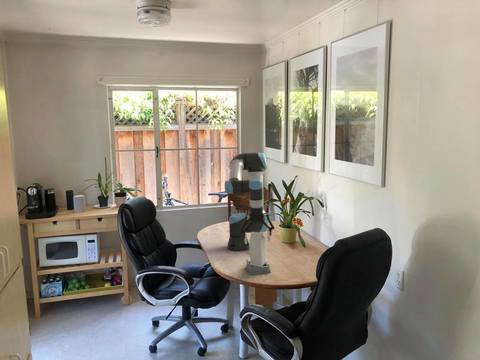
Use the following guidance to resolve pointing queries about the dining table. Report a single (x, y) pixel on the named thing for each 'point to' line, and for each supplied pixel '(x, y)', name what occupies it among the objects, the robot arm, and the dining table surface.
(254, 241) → the milk carton
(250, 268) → the seat block
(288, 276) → the dining table surface
